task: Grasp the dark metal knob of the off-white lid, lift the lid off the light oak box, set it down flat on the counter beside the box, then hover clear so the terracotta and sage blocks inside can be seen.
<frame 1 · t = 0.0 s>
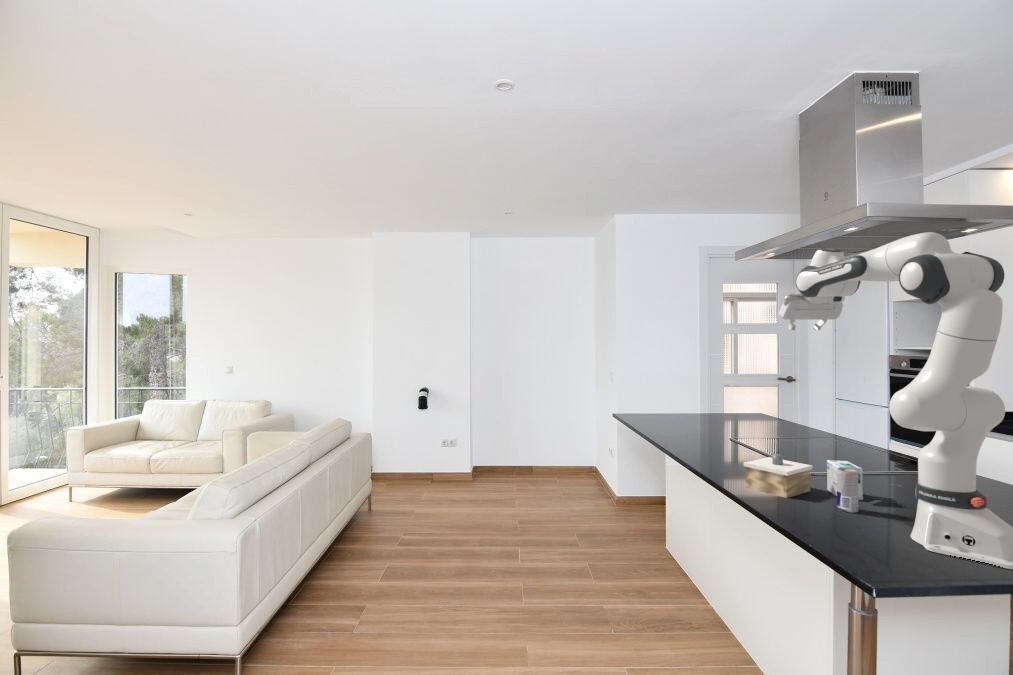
hand: (804, 329, 186), 54 cm above the countertop, tool tilted 30°, fingers open, 8 cm apart
sage block: (774, 485, 179), point 1 cm above the countertop, touching box
box: (777, 491, 175), on the countertop
terracotta block: (781, 492, 171), point 1 cm above the countertop, touching box
lid: (777, 470, 175), point 7 cm above the countertop, touching box
energy drink: (847, 510, 156), on the countertop
light bulb box: (844, 497, 169), on the countertop
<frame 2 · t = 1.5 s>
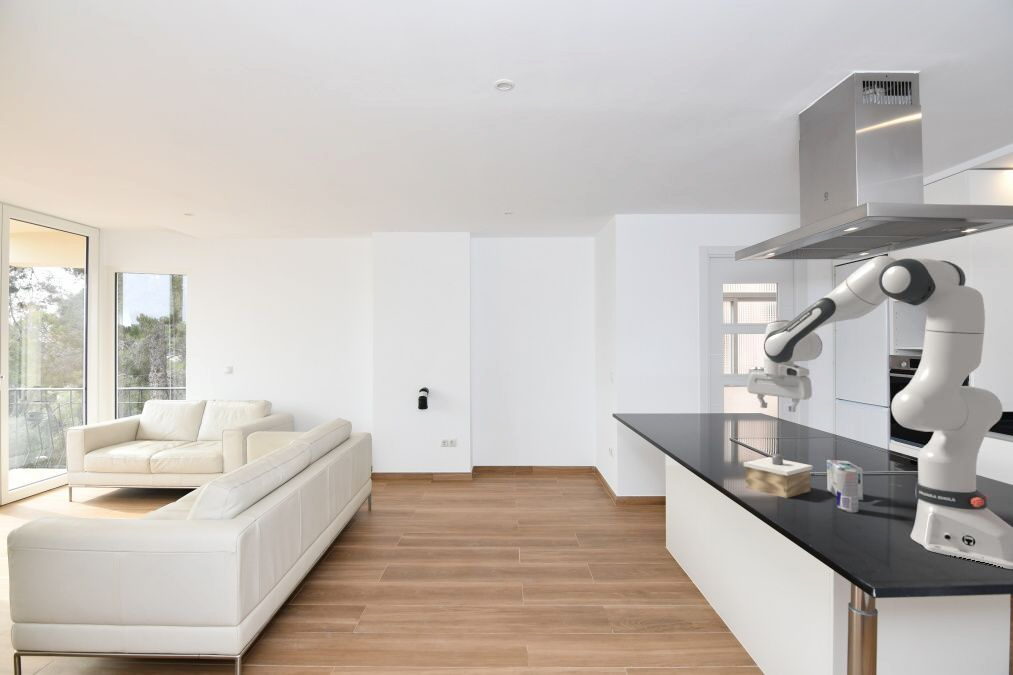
hand: (777, 409, 177), 27 cm above the countertop, tool pointing down, fingers open, 8 cm apart
nothing on the countertop moved.
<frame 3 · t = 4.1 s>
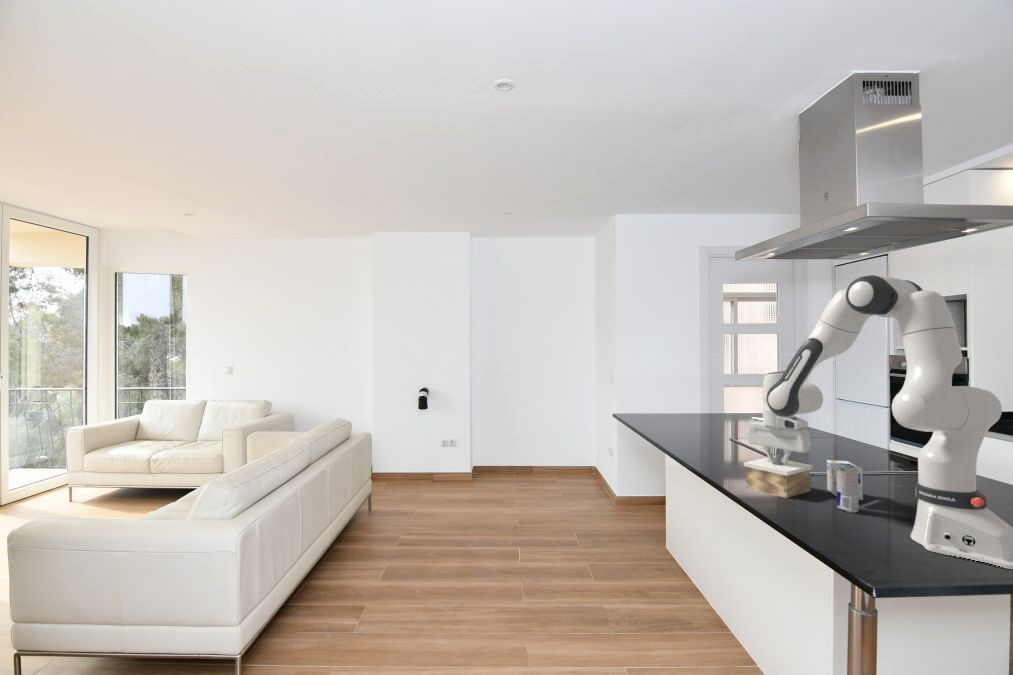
hand: (777, 461, 175), 10 cm above the countertop, tool pointing down, fingers closed on lid, 3 cm apart
lid: (777, 470, 175), point 7 cm above the countertop, touching box, gripper
everything else where it was.
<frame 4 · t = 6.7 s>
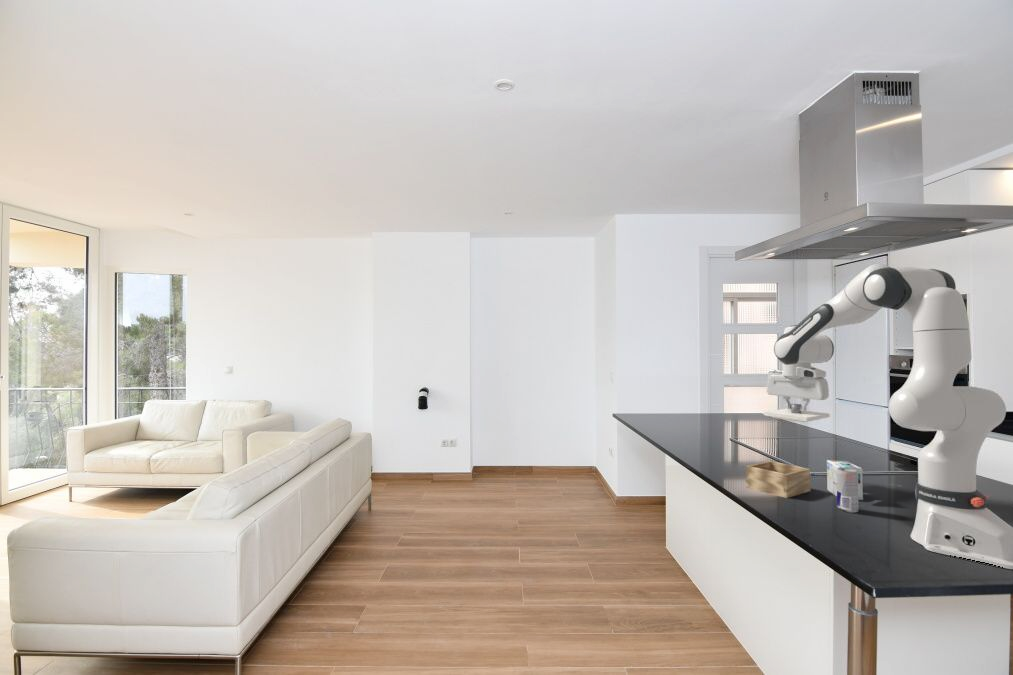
hand: (796, 410, 185), 26 cm above the countertop, tool pointing down, fingers closed on lid, 3 cm apart
lid: (796, 418, 185), point 23 cm above the countertop, touching gripper
everything else where it was.
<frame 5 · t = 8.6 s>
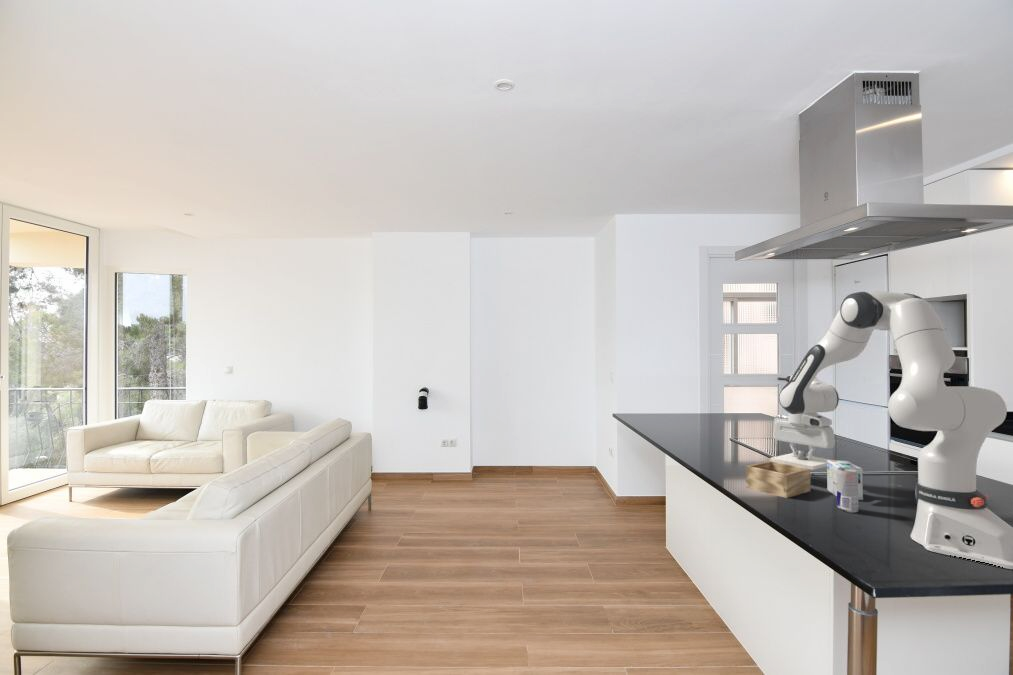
hand: (802, 456, 187), 9 cm above the countertop, tool pointing down, fingers closed on lid, 3 cm apart
lid: (802, 464, 187), point 6 cm above the countertop, touching gripper
everything else where it was.
when the fingers open (4 cm above the countertop, at t = 9.8 s): lid drops 2 cm, on the countertop.
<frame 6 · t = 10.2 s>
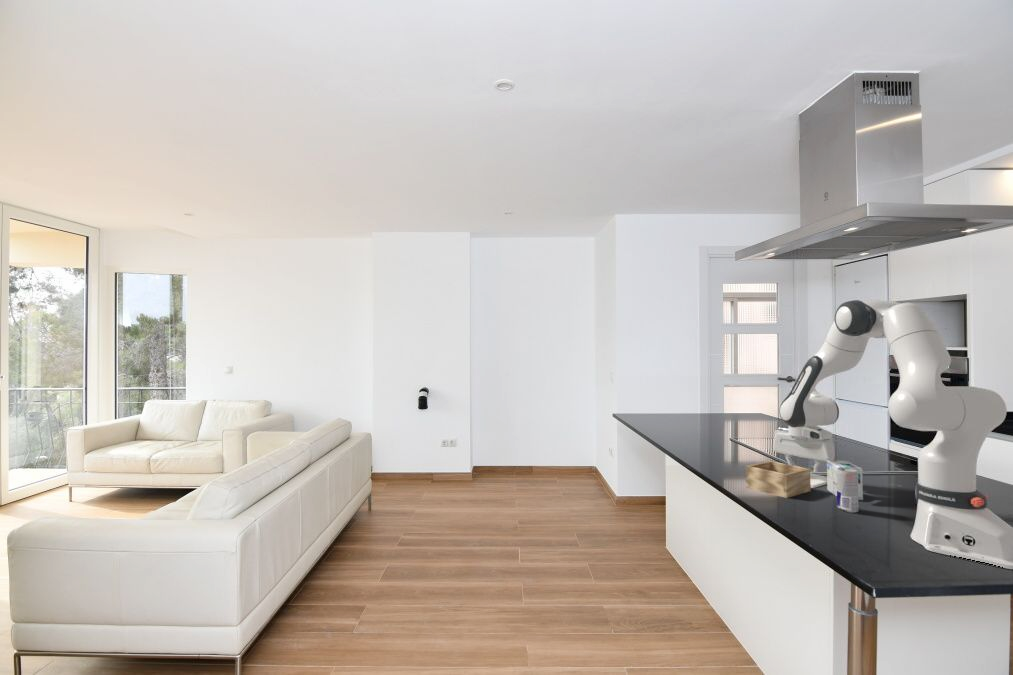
hand: (802, 469, 187), 4 cm above the countertop, tool pointing down, fingers open, 7 cm apart
lid: (803, 482, 187), on the countertop
everything else where it was.
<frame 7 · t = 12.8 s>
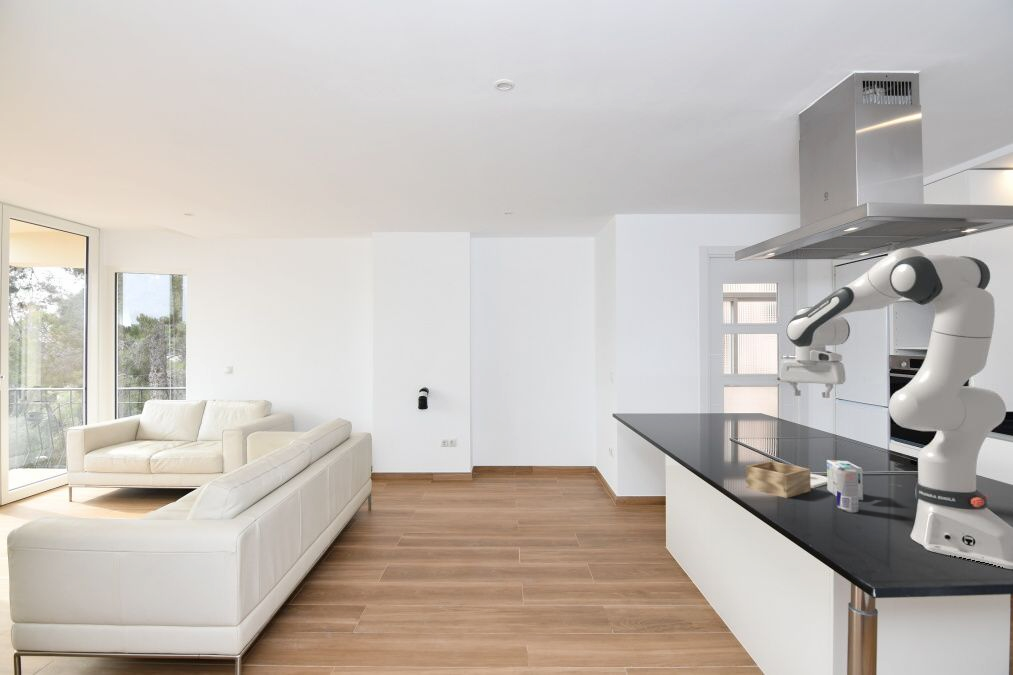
hand: (811, 396, 176), 32 cm above the countertop, tool pointing down, fingers open, 8 cm apart
nothing on the countertop moved.
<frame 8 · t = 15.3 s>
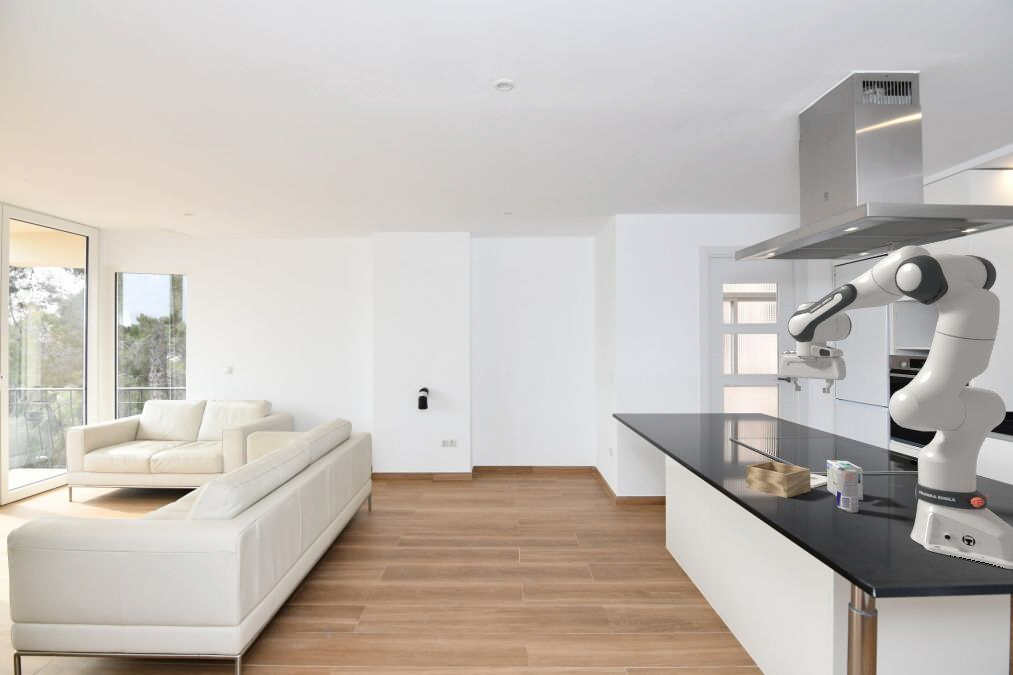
hand: (811, 392, 176), 33 cm above the countertop, tool pointing down, fingers open, 8 cm apart
nothing on the countertop moved.
at the end: lid inside the target area (0.1 cm from its centre), on the countertop; lid tilted 0°; the gripper is holding nothing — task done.
